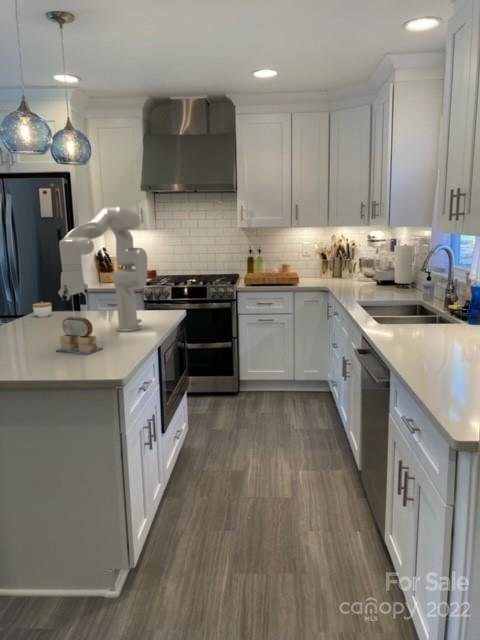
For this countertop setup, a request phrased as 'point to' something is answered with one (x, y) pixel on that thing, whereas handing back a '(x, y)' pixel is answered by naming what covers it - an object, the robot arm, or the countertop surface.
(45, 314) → the lidded jar
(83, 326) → the tin
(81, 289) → the robot arm
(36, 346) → the countertop surface
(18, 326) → the countertop surface
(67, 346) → the bridge base
